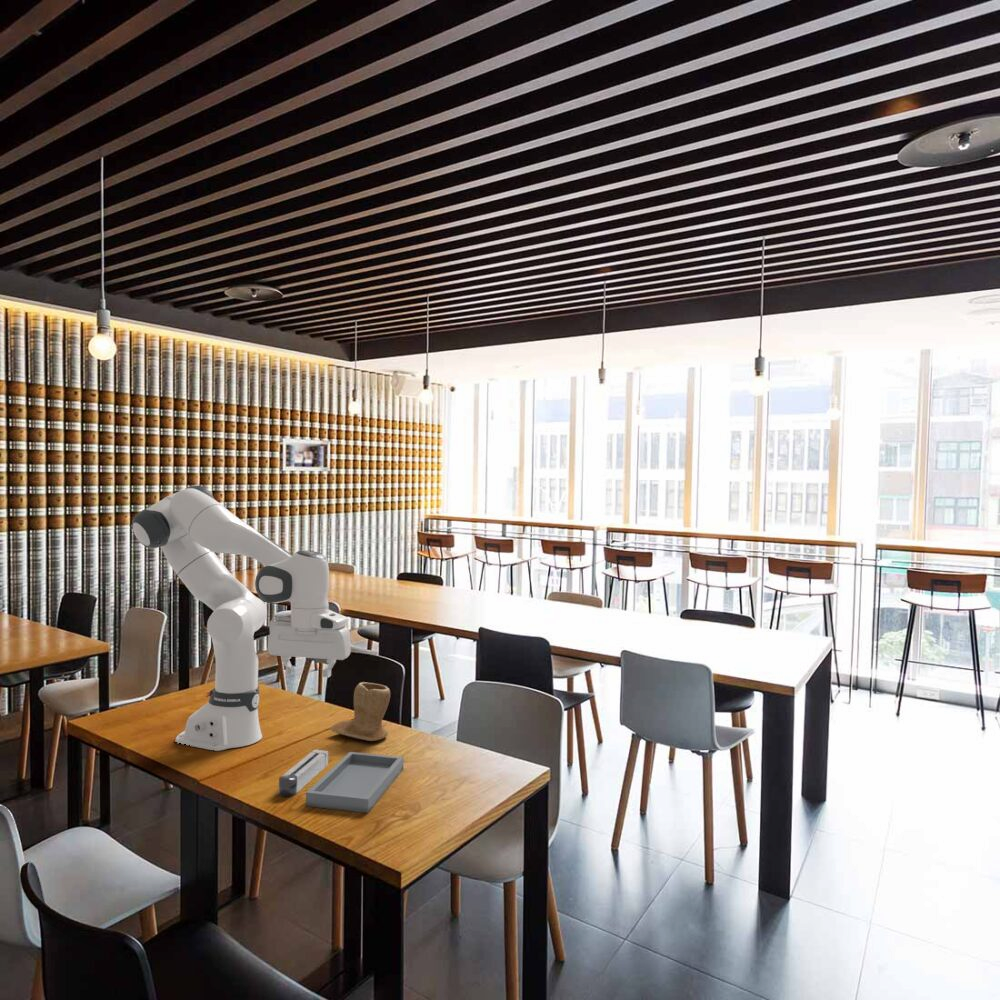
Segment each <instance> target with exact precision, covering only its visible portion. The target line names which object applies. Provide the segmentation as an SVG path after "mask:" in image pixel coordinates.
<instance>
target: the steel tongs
mask: <svg viewBox="0 0 1000 1000" xmlns="http://www.w3.org/2000/svg"><path fill="white" fill-rule="evenodd" d="M328 765H329V750H321V749H320V750H319V749H314V750H311V751H310V753H308V754H307V755H306V756H305V757H303V758H302V759H301V760H300V761H298V762H297V763H296V764H295V765H293V766H292V767H291V768H290V769H289V770H287V771H286V772H285V773H284V774H283V775H281V776H279V778H278V796H279V797H282V798H291V797H294V796H296V795H297V794H298V793H299V792H300V791H301V790H302V789H303V788H304V787H305V786H306V785H308V784H309V783H310V782H311V780H314V778H315V777H316V776H317V775H319V773H320V772H322V771H323V770H324V769H325V768H326V767H327V766H328Z"/></svg>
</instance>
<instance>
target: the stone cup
mask: <svg viewBox="0 0 1000 1000" xmlns="http://www.w3.org/2000/svg"><path fill="white" fill-rule="evenodd" d="M390 699H391V690H390V688H389V687H388V686H387V685H384V684H380V683H374V682H365V681H362V682H359V683H358V684H357V685H356V686H355V688H354V691H353V710H354V713H353V714H354V719H352V720H349V719H348V720H347V719H346V720H341V721H338V722H336V723H334V724H333V725H332V726H331V727H330V731H331V732H333V733H336V734H340V735H341V736H346V737H349V738H353V739H357V740H362V741H368V742H376V741H379V740H382V739H384V738H386V737H387V736H388V735H389V731H388V730H387V729H386V728H384V727H383V720H384V719H383V718H384V716H385V714H386V711H387V709H388V706H389V703H390V701H391V700H390Z"/></svg>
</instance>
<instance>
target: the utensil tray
mask: <svg viewBox="0 0 1000 1000" xmlns="http://www.w3.org/2000/svg"><path fill="white" fill-rule="evenodd" d="M404 760H405V759H404V756H396V755H385V754H375V753H366V752H365V753H364V752H355V751H349V752H348V753H347V754H346V755H344V757H342V758H341V759H340V760H339V761H338V762H337V763H336V764H335V765H334V766H332V768H330V770H329V771H328V772H326V773H325V774H324V775H323V776H322V777H321V778H320V779H319V780H318V781H316V783H314V784H313V785H312V786H311V787H310V788H309V789H308V790H307V791H306V792H305V807H310V808H311V807H312V808H320V809H321V808H322V809H327V810H328V809H329V810H336V811H346V812H347V811H348V812H353V813H354V812H355V813H362V814H363V813H364V814H368V813H370V811H371V810H372V809H373V808H374V806H375V805H376V804H377V802H378V801H379V800H380V799H381V798H382V796H383V795H384V794H385V792H386V791H387V790H388V789H389V787H391V785H392V784H393V782H394V781H395V780H396V779H397V777H398V776H399V775H400V774H401V773H402V771H403V770H404V762H405V761H404Z"/></svg>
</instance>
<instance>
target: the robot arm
mask: <svg viewBox="0 0 1000 1000" xmlns="http://www.w3.org/2000/svg"><path fill="white" fill-rule="evenodd" d="M131 529H132V531H133V534H134V537H136V540H138V542H139V543H140V544H142V545H143V546H144V547H146V548H148V549H158V548H161V551H162V552H163V555H164V557H165V558H166V560H167V563H168V564H169V566H170V567H171V568H172V570H173V572H174V573H175V574H176V575H177V577H178V578H179V579H180V580H181V582H182V583H183V584H184V585H185V587H186V588H187V590H188V591H189V592H190V593H191V595H192V596H193V597H194V598H195V599H196V600H197V601H200V602H202V603H203V604H205V605H206V606H207V607H208V608H209V609H211V610H212V611H213V612H212V613H211V615H210V616H209V617H208V620H207V622H206V623H207V624H206V629H207V632H208V636H210V637H211V642H212V645H213V647H212V648H213V651H214V652H213V653H214V657H215V659H214V660H215V679H214V680H215V681H214V682H215V683H214V684H215V685H214V688H212V689H211V690H210V691H209V692H205V698H208V697H209V699H208V701H207V702H206V703H205V704H204V705H202V706H201V707H199V709H197V710H196V711H195V712H193V713H192V714H191V715H190V716H189V717H188V718H187V721H186V723H185V729H184V731H182V732H180V733H179V734H177V736H176V737H175V740H174V741H175V742H177V743H176V744H179V743H181V744H180V745H184V744H186V745H185V746H189V745H190V746H189V747H194V748H199V749H205V750H208V751H209V750H210V751H213V750H214V751H215V752H219V751H224V750H227V749H234V748H240V747H241V748H242V747H246V746H250V745H253V744H255V743H257V742H260V741H261V740H262V738H263V734H262V730H261V726H260V720H259V709H258V708H259V703H260V687H259V686H258V685H259V682H258V681H259V680H258V679H259V658H258V655H257V652H256V649H255V643H254V642H255V641H254V635H255V632H257V631H259V630H260V628H262V626H263V625H264V623H265V621H266V619H267V616H268V609H267V606H266V604H265V603H270V604H279V603H284V602H290V617H289V616H283V617H282V616H275V617H274V618H272V619H271V620H270V621H269V635H268V642H267V652H268V653H269V655H270V656H280V657H281V662H282V663H283V666H284V667H285V674H286V675H295V672H296V670H295V669H296V666H295V665H292V663H291V661H290V659H292V657H293V658H309V659H322V660H323V659H324V660H326V664H328V665H327V667H326V668H324V669H322V670H321V671H322V678H330V677H331V676H332V669H333V667H334V666H335V664H336V663H337V660H338V661H344V660H345V659H347V658H348V657H349V656H350V655H351V652H352V647H351V646H352V643H351V633H350V630H349V628H348V627H346V626H347V625H348V624H349V621H348V620H349V619H348V617H347V616H345V615H343V614H341V613H337V612H335V611H333V610H331V609H329V606H330V605H329V600H328V599H329V598H328V595H329V590H330V567H329V562H328V559H327V557H326V555H324V554H323V553H321V552H318V551H314V550H305V549H304V550H298V551H295V552H294V553H293V554H292V553H290V552H289V551H287V550H286V549H285V548H283V547H282V546H280V545H279V544H277V543H276V542H275V541H273V540H272V539H270V538H269V537H268V536H266V535H265V534H263V533H261V532H259V531H258V530H256V529H255V528H254V527H253V526H251V525H249V524H247V523H246V522H244V520H242V519H241V518H239V517H238V516H237V515H235V514H234V513H232V512H231V511H230V510H229V509H227V508H226V507H225V506H224V505H223V504H221V503H220V502H218V500H216V499H215V497H214V495H213V494H212V493H211V492H210V490H209V489H207V488H206V487H204V486H203V485H191V486H187V487H185V488H184V489H180V491H177V492H174V493H172V494H170V495H168V496H165V497H163V498H162V499H161V500H159V501H157V502H155V503H154V504H152V505H150V506H149V507H148V508H145V509H142V510H141V511H139V512H138V513H137V514H135V515H134V516H133V518H132V520H131ZM216 553H218V554H230V555H240V556H245V557H248V558H251V559H254V560H256V561H257V562H259V564H261V565H263V567H262V568H260V570H259V571H258V572H257V574H256V575H255V581H254V587H255V591H256V594H257V595H258V596H259V597H257V596H256V595H255V594H253V593H252V592H251V591H250V589H248V588H247V587H246V586H245V585H244V584H243V583H242V582H240V581H239V580H238V579H237V578H236V577H235V576H234V575H233V574H232V573H231V572H230V571H229V569H228V568H227V567H226V566H225V564H224V563H223V562H222V561H221V559H220V558H219V556H218V555H217V554H216Z"/></svg>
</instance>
